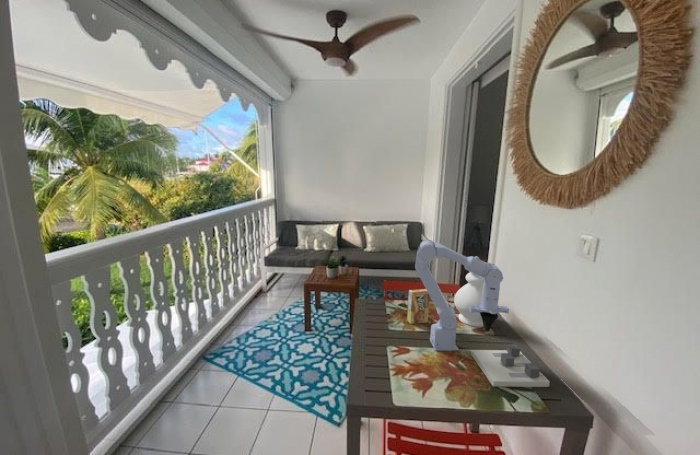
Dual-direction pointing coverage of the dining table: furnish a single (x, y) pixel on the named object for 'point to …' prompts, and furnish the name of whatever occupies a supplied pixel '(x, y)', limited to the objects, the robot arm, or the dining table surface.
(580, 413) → the dining table surface
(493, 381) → the switch panel
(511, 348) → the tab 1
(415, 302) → the candy box
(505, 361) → the dark gray cube
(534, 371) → the gray cube
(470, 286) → the decorative vase
